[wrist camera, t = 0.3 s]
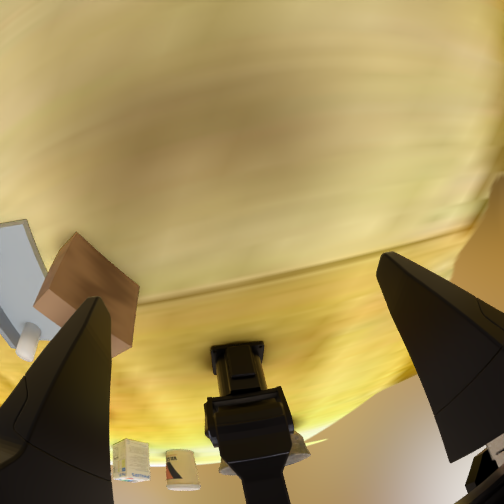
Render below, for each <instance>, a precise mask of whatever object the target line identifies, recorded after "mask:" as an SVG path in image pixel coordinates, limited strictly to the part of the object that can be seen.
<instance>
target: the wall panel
mask: <svg viewBox="0 0 504 504" xmlns="http://www.w3.org/2000/svg"><path fill="white" fill-rule="evenodd" d="M47 274H48V273H47V271H46V268H45V266H44V264H43V261H42V259H41V257H40V254H39V252H38V249H37V247H36V244H35V242H34V239H33V236H32V233H31V231H30V228H29V225H28V222H27V219H26V220H19V221H13V222H8V223H2V224H0V334H1V335H2V337H3V338H4V339H5V340H6V342H7V343H8V344H9V346H10V347H11V348H15V349H16V354H17V355H18V356H19V357H20V358H21V359H23V360H25V361H28V362H32V361H33V359H34V355H35V352H36V348H37V345H38V342H39V340H49V341H51V340H52V339H53V337H54V336H55V335H56V334H57V332H58V331H59V330H60V329H61V327H60V326H58V325H57V324H55V323H54V322H53V321H51V320H50V319H48V318H47V317H46V316H44V315H43V314H42V313H40V312H39V311H38V310H36V309H35V308H34V307H33V305H34V302H35V300H36V298H37V295H38V293H39V291H40V289H41V286H42V284H43V282H44V280H45V278H46V276H47Z"/></svg>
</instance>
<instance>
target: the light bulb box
mask: <svg viewBox="0 0 504 504" xmlns="http://www.w3.org/2000/svg"><path fill="white" fill-rule="evenodd" d="M113 479H115V480H121V481H128V482H134V483H136V482H141V481H147V480H150V479H151V478H150V465H149V448H148V443H144V442H139V441H134V440H130V439H124V440H122V441H120V442H118V443H116V444H114V445H113Z"/></svg>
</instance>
